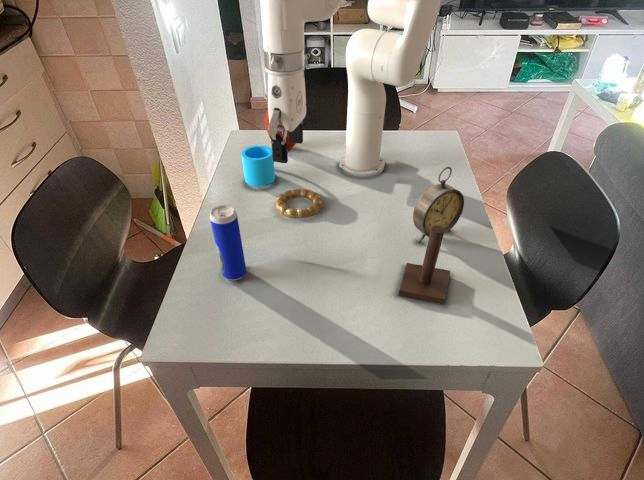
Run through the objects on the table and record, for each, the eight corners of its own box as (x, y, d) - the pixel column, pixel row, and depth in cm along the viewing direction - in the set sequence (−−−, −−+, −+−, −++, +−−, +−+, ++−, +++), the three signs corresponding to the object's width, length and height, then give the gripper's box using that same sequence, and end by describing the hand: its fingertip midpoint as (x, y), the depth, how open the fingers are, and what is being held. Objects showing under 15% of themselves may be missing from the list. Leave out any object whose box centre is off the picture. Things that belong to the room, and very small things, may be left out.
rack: (405, 268, 91) (417, 212, 81) (448, 276, 89) (465, 219, 79) (398, 295, 86) (409, 239, 75) (443, 304, 84) (461, 248, 73)
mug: (266, 192, 112) (263, 162, 106) (239, 186, 114) (235, 156, 108) (287, 172, 119) (285, 142, 113) (261, 166, 121) (258, 137, 115)
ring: (285, 193, 112) (284, 184, 110) (328, 199, 109) (328, 191, 107) (268, 217, 105) (267, 208, 103) (314, 225, 102) (314, 216, 100)
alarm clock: (419, 248, 95) (434, 179, 83) (404, 236, 98) (417, 167, 86) (457, 234, 98) (477, 166, 86) (442, 222, 102) (459, 155, 89)
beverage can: (223, 267, 93) (209, 204, 81) (246, 265, 93) (236, 203, 81) (222, 282, 89) (207, 220, 78) (246, 281, 89) (236, 218, 78)
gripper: (287, 77, 74) (291, 172, 86) (317, 48, 84) (316, 137, 97) (247, 72, 75) (257, 167, 88) (282, 45, 86) (286, 133, 99)
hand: (288, 151), depth 93 cm, fingers open, 9 cm apart
